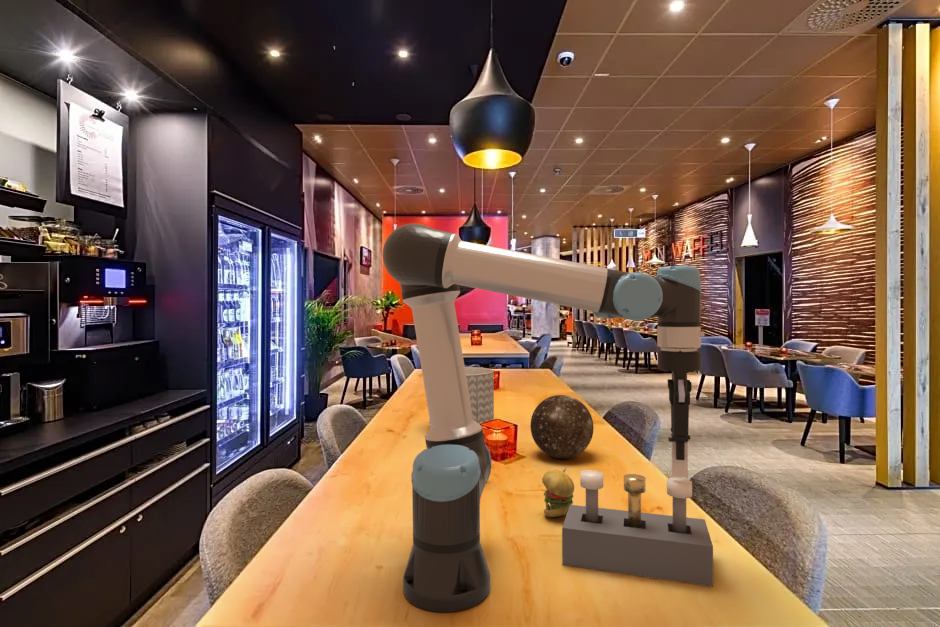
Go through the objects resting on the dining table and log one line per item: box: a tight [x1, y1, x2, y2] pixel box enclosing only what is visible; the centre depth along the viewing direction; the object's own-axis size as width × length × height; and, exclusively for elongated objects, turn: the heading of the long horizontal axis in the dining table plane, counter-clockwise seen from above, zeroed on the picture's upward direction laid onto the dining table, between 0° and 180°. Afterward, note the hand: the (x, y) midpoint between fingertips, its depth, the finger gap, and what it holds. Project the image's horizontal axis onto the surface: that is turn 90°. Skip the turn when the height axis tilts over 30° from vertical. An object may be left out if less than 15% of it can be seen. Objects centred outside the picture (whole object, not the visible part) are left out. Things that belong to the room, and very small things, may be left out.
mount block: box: [561, 504, 714, 587], centre depth 100 cm, size 12×26×7 cm, turn 72°
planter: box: [465, 366, 495, 424], centre depth 203 cm, size 25×25×24 cm
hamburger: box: [541, 466, 575, 518], centre depth 121 cm, size 8×7×12 cm
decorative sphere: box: [529, 394, 594, 459], centre depth 168 cm, size 20×20×20 cm
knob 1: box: [579, 469, 604, 523], centre depth 102 cm, size 4×4×10 cm
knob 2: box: [666, 477, 693, 534], centre depth 97 cm, size 4×4×10 cm
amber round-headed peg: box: [623, 473, 647, 528], centre depth 100 cm, size 4×4×10 cm
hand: (679, 475), depth 97 cm, fingers closed
